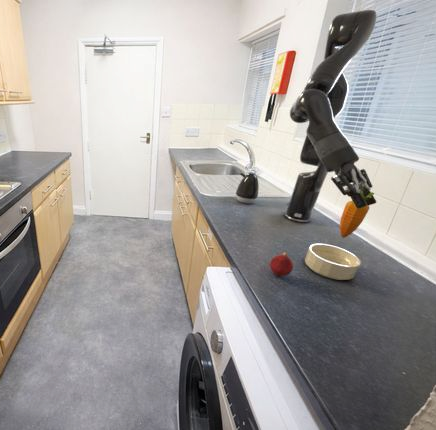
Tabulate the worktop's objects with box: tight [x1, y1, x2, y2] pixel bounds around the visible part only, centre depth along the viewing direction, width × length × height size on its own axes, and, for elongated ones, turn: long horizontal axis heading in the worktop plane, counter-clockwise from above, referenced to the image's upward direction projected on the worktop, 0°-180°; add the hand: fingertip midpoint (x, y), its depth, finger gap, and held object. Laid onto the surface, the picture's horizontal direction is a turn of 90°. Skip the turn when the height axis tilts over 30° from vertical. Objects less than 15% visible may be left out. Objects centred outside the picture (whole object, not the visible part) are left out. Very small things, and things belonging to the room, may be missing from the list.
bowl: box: [304, 243, 362, 281], centre depth 83 cm, size 13×13×6 cm
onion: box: [269, 252, 294, 277], centre depth 79 cm, size 6×6×8 cm
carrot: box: [339, 189, 375, 239], centre depth 75 cm, size 5×5×15 cm
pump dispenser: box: [235, 172, 260, 204], centre depth 133 cm, size 10×10×15 cm
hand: (367, 205), depth 72 cm, fingers closed on carrot, 4 cm apart
